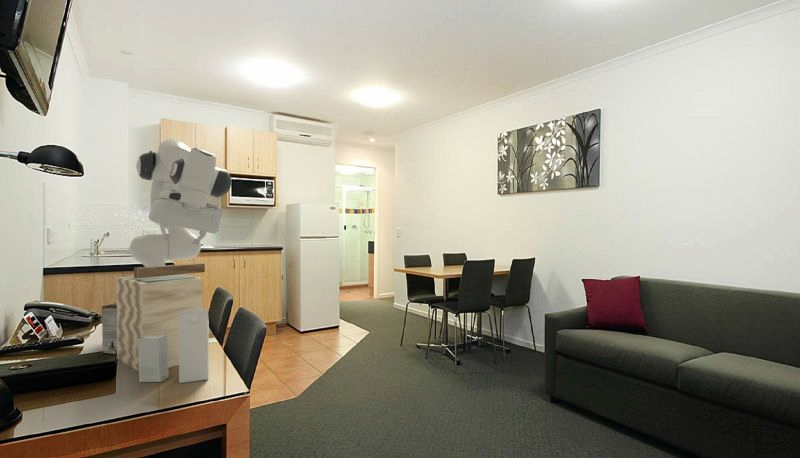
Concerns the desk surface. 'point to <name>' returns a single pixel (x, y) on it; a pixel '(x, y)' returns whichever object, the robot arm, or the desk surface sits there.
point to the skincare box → (153, 358)
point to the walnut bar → (168, 270)
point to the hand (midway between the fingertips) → (180, 242)
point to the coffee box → (109, 327)
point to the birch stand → (153, 312)
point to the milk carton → (193, 345)
